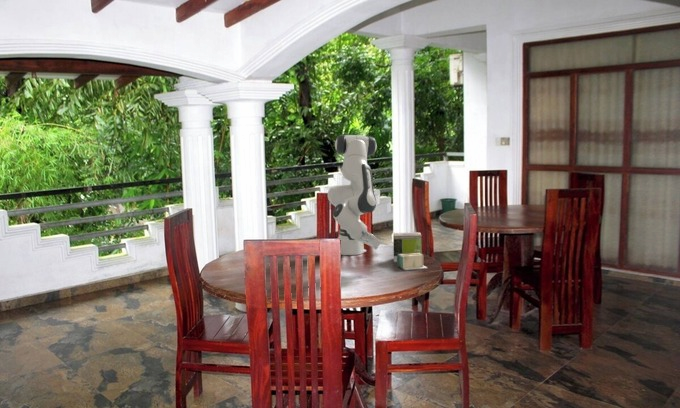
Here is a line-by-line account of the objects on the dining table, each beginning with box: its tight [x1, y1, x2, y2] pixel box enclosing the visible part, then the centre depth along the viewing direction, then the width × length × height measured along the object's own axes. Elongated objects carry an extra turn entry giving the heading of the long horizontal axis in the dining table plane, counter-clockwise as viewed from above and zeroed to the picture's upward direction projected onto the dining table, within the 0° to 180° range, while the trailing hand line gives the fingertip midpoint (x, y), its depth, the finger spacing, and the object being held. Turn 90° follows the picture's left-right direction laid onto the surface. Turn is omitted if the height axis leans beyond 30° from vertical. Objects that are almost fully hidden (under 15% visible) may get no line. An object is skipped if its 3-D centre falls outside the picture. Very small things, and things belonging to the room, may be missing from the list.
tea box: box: [392, 231, 423, 263], centre depth 316 cm, size 15×10×15 cm, turn 84°
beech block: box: [396, 253, 425, 269], centre depth 303 cm, size 6×6×12 cm
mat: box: [402, 264, 428, 271], centre depth 303 cm, size 11×12×1 cm
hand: (375, 248), depth 295 cm, fingers closed
